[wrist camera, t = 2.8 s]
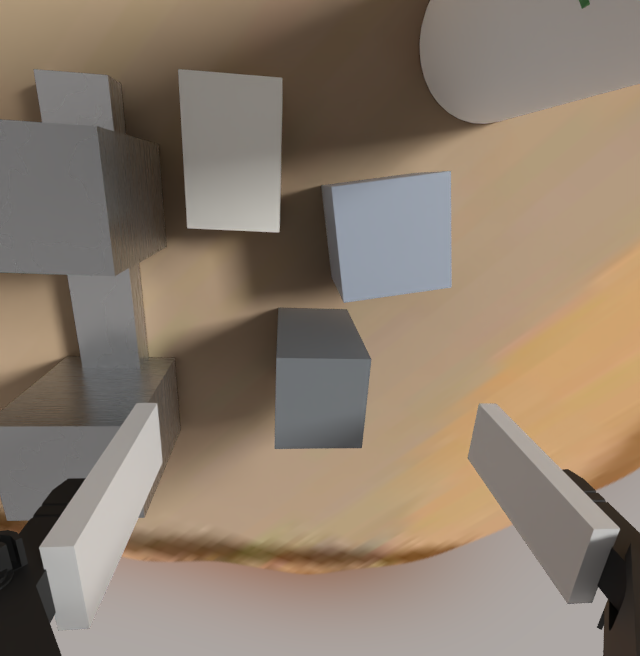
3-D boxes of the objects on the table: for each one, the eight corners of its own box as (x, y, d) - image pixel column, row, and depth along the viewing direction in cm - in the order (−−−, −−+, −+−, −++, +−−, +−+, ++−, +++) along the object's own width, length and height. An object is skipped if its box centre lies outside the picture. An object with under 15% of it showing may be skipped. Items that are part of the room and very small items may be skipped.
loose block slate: (320, 185, 21) (331, 186, 16) (414, 172, 21) (450, 171, 17) (331, 277, 23) (343, 302, 18) (417, 265, 23) (451, 287, 18)
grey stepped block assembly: (17, 74, 18) (-132, 16, 12) (154, 85, 19) (85, 35, 12) (82, 444, 25) (11, 537, 18) (181, 443, 26) (146, 533, 19)
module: (278, 307, 23) (276, 357, 17) (346, 309, 24) (371, 359, 17) (277, 379, 25) (274, 451, 18) (341, 380, 25) (361, 450, 19)
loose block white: (198, 90, 19) (178, 68, 15) (282, 97, 20) (282, 77, 16) (204, 219, 21) (187, 228, 18) (280, 223, 22) (279, 232, 18)
